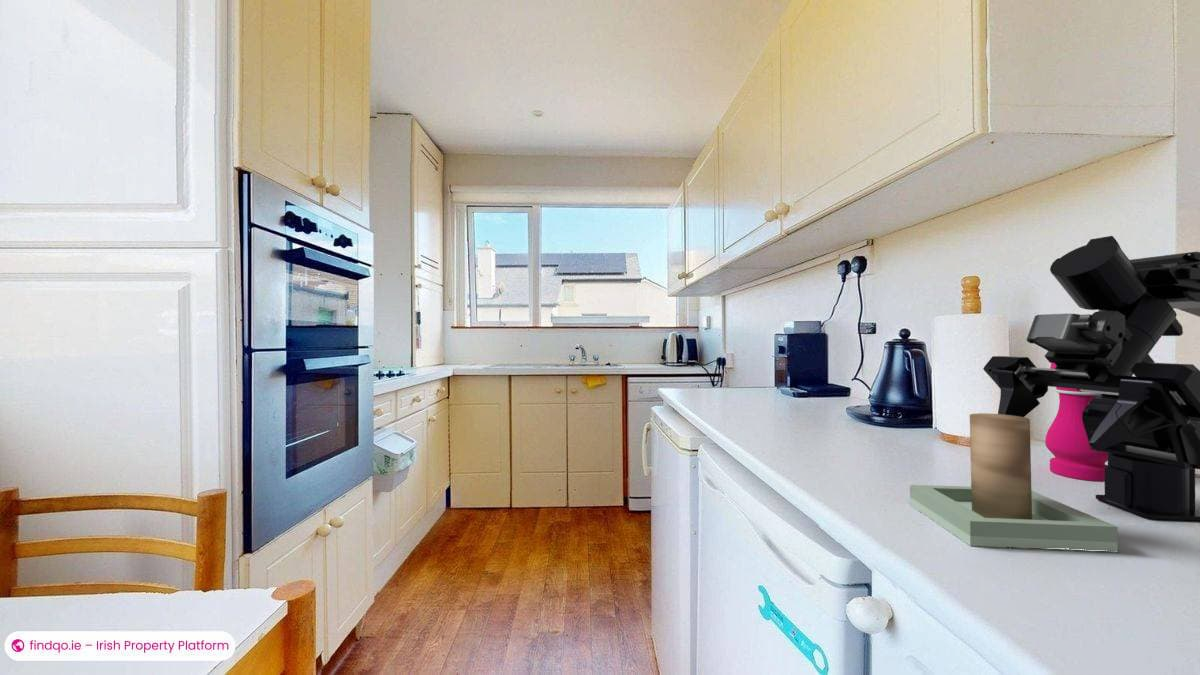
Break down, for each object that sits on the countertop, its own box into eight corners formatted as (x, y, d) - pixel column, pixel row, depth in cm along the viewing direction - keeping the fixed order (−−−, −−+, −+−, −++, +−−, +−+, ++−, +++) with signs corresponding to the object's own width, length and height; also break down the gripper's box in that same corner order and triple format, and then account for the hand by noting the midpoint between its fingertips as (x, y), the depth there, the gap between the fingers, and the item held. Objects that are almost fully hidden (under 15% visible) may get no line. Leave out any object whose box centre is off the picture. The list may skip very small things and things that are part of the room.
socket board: (1026, 508, 55) (1025, 488, 55) (1117, 552, 44) (1117, 526, 44) (910, 504, 56) (909, 484, 56) (970, 545, 45) (970, 521, 45)
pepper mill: (1082, 468, 70) (1082, 340, 70) (1132, 483, 63) (1131, 340, 63) (1032, 467, 71) (1031, 340, 71) (1075, 482, 64) (1075, 341, 64)
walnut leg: (990, 505, 53) (988, 412, 53) (1043, 521, 48) (1041, 419, 48) (961, 511, 52) (958, 415, 52) (1012, 528, 47) (1010, 422, 47)
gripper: (993, 296, 61) (924, 380, 59) (1198, 279, 43) (1108, 401, 41) (1041, 353, 62) (975, 437, 61) (1260, 360, 44) (1175, 481, 42)
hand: (1042, 437), depth 51 cm, fingers open, 9 cm apart
